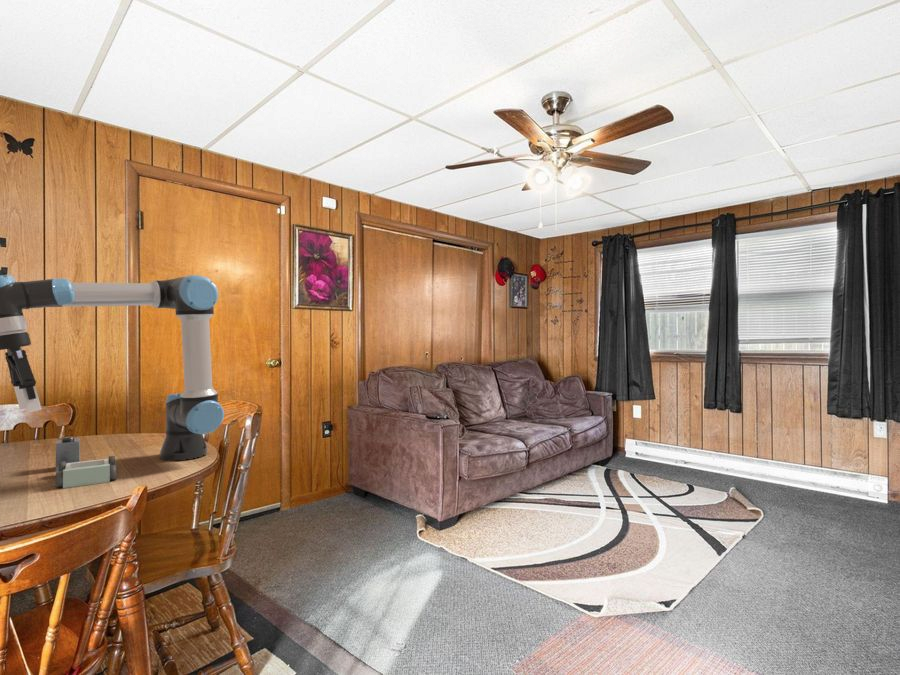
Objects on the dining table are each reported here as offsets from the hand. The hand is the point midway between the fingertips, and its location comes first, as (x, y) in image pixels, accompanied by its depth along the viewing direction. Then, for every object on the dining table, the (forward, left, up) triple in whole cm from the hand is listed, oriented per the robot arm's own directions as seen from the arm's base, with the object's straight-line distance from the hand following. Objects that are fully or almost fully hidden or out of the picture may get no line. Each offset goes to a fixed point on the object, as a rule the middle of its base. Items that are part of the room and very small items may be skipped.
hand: (30, 409), depth 133 cm
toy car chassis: (-16, -5, -24) cm, 29 cm away
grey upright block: (-17, -22, -24) cm, 37 cm away
